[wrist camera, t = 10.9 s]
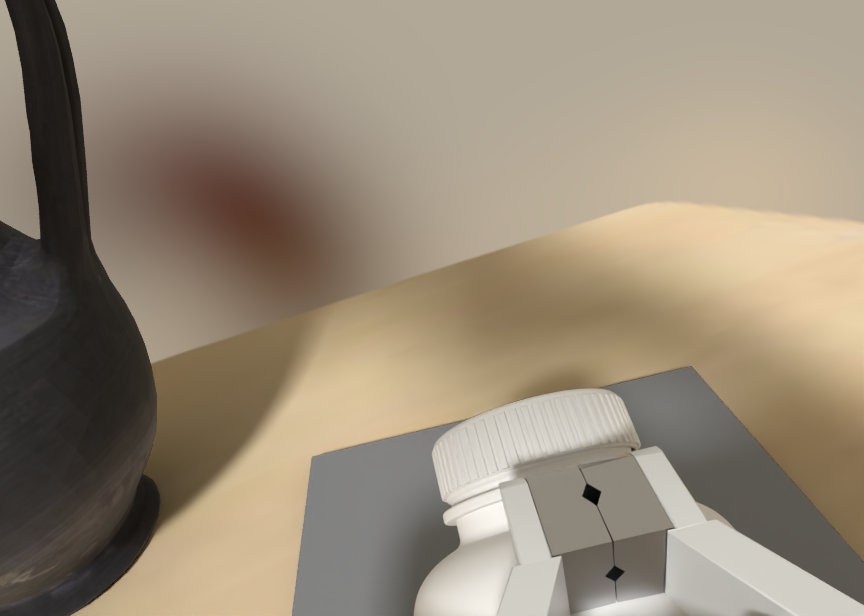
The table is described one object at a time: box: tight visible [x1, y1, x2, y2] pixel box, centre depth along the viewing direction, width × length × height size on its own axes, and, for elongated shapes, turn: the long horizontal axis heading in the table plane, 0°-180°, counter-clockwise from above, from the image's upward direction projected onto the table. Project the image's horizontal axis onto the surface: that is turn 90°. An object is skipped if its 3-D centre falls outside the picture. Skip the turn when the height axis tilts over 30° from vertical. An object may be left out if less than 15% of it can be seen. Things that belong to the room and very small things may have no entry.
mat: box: [292, 366, 864, 616], centre depth 21 cm, size 22×20×1 cm
